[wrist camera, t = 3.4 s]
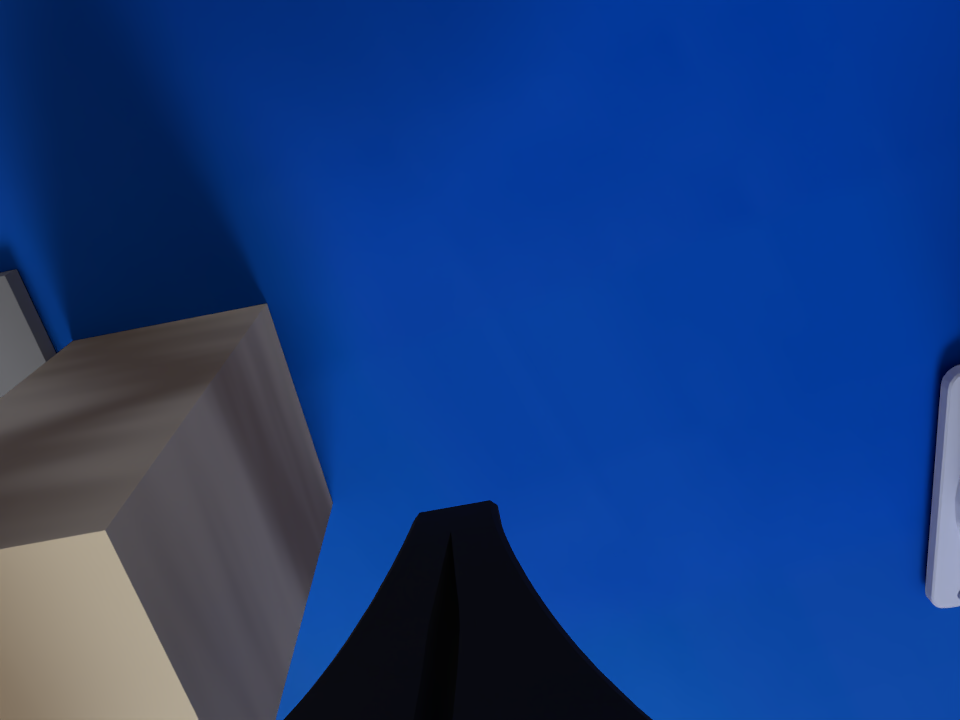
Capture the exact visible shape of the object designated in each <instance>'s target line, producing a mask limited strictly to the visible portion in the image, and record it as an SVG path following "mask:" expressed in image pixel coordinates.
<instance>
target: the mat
mask: <svg viewBox="0 0 960 720" xmlns="http://www.w3.org/2000/svg"><path fill="white" fill-rule="evenodd" d="M54 355H56V352H55V350H54V348H53V346H52V344H51V341H50V339H49V337H48V335H47V333H46V331H45V329H44V326H43V324H42V322H41V320H40V318H39V316H38V314H37V312H36V309H35V307H34V305H33V303H32V301H31V299H30V297H29V294H28V292H27V290H26V288H25V286H24V284H23V282H22V280H21V277H20V275H19V273H18V271H17V269H16V270H11V271H6V272H1V273H0V398H1V397H2V396H4V395H5V394H6V393H8V392H9V391H10V390H11V389H13V388H14V387H15V386H16V385H18V384H19V383H20V382H21V381H23V380H24V379H25V378H26V377H28V376H29V375H30V374H32V373H33V372H34V371H35V370H37V369H38V368H39V367H40V366H42V365H43V364H44V363H45V362H47V361H48V360H49V359H51V358H52V357H53V356H54Z"/></svg>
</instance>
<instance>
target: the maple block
mask: <svg viewBox="0 0 960 720" xmlns="http://www.w3.org/2000/svg"><path fill="white" fill-rule="evenodd" d="M332 504H333V502H332V499H331V496H330V493H329V490H328V487H327V484H326V481H325V478H324V475H323V472H322V469H321V466H320V463H319V460H318V457H317V454H316V451H315V448H314V445H313V442H312V439H311V436H310V433H309V429H308V426H307V423H306V420H305V417H304V414H303V411H302V408H301V405H300V402H299V399H298V396H297V393H296V390H295V387H294V384H293V381H292V378H291V375H290V372H289V369H288V366H287V363H286V360H285V357H284V354H283V351H282V348H281V345H280V342H279V339H278V336H277V333H276V329H275V326H274V323H273V320H272V317H271V314H270V311H269V308H268V305H267V303H266V304H261V305H256V306H251V307H246V308H240V309H235V310H230V311H225V312H220V313H215V314H210V315H204V316H199V317H194V318H189V319H184V320H179V321H173V322H168V323H163V324H158V325H153V326H148V327H143V328H137V329H132V330H127V331H122V332H117V333H112V334H106V335H101V336H96V337H91V338H86V339H81V340H76V341H72V342H71V343H69V344H68V345H67V346H66V347H64V348H63V349H62V350H61V351H59V352H58V353H57V354H56V355H54V356H53V357H52V358H51V359H49V360H48V361H47V362H45V363H44V364H43V365H42V366H40V367H39V368H38V369H37V370H35V371H34V372H33V373H32V374H30V375H29V376H28V377H26V378H25V379H24V380H23V381H21V382H20V383H19V384H18V385H16V386H15V387H14V388H13V389H11V390H10V391H9V392H8V393H6V394H5V395H4V396H2V397H1V398H0V720H275V719H276V715H277V712H278V708H279V704H280V700H281V696H282V693H283V689H284V685H285V681H286V678H287V674H288V670H289V666H290V663H291V659H292V655H293V651H294V647H295V644H296V640H297V636H298V632H299V629H300V625H301V621H302V617H303V614H304V610H305V606H306V602H307V598H308V595H309V591H310V587H311V583H312V580H313V576H314V572H315V568H316V565H317V561H318V557H319V553H320V550H321V546H322V542H323V538H324V534H325V531H326V527H327V523H328V519H329V516H330V512H331V508H332Z"/></svg>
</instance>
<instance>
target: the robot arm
mask: <svg viewBox="0 0 960 720" xmlns="http://www.w3.org/2000/svg"><path fill="white" fill-rule="evenodd" d="M925 593H926V596H927V597H928V598H929V600H930V601H931V602H932V603H933V604H934V605H935V606H936V607H939V608H951V607H957V606H960V365H957V366H954V367H953V368H952V369H950V370H949V371H947V373H946V374H945V375H944V377H943V379H942V382H941V389H940V402H939V415H938V429H937V442H936V455H935V468H934V481H933V494H932V508H931V521H930V534H929V547H928V560H927V573H926V586H925ZM284 720H652V719H651V718H650V717H649V716H648V715H646V714H645V713H644V712H643V711H642V710H640V709H639V708H638V707H637V706H636V705H635V704H634V703H633V702H632V701H631V700H630V699H629V698H628V697H627V696H626V695H624V694H623V693H622V692H621V691H620V690H619V689H618V688H617V687H616V686H615V685H614V684H613V683H612V682H611V681H610V680H609V679H608V678H607V677H606V676H605V675H604V674H603V673H602V672H601V671H600V670H599V669H598V668H597V667H596V666H595V665H594V664H593V663H592V662H591V661H590V659H589V658H588V657H587V656H586V655H585V654H584V653H583V652H582V651H581V650H580V648H579V647H578V646H577V645H576V644H575V642H574V641H573V640H572V639H571V638H570V636H569V635H568V634H567V633H566V632H565V630H564V629H563V628H562V627H561V625H560V624H559V623H558V621H557V620H556V619H555V617H554V616H553V615H552V613H551V612H550V611H549V609H548V608H547V606H546V605H545V603H544V602H543V601H542V599H541V598H540V596H539V595H538V593H537V592H536V590H535V589H534V587H533V586H532V584H531V582H530V581H529V579H528V578H527V576H526V574H525V572H524V571H523V569H522V567H521V565H520V564H519V562H518V560H517V558H516V557H515V555H514V553H513V551H512V549H511V547H510V545H509V542H508V540H507V538H506V536H505V533H504V531H503V528H502V524H501V519H500V515H499V510H498V505H496V504H495V503H493V502H492V501H490V500H489V501H484V502H478V503H472V504H467V505H461V506H455V507H450V508H444V509H438V510H433V511H427V512H421V513H419V514H418V516H417V517H416V518H415V520H414V522H413V524H412V526H411V529H410V531H409V533H408V535H407V537H406V539H405V541H404V543H403V545H402V547H401V549H400V551H399V553H398V555H397V557H396V559H395V561H394V563H393V565H392V567H391V569H390V570H389V572H388V574H387V576H386V577H385V579H384V581H383V583H382V585H381V586H380V588H379V590H378V592H377V593H376V595H375V597H374V599H373V600H372V602H371V604H370V605H369V607H368V609H367V610H366V612H365V613H364V615H363V616H362V618H361V619H360V621H359V623H358V624H357V626H356V627H355V629H354V630H353V632H352V633H351V635H350V637H349V638H348V640H347V641H346V643H345V644H344V645H343V647H342V648H341V650H340V651H339V652H338V654H337V655H336V657H335V658H334V659H333V661H332V662H331V663H330V665H329V666H328V667H327V669H326V670H325V671H324V673H323V674H322V675H321V676H320V678H319V679H318V680H317V682H316V683H315V684H314V685H313V687H312V688H311V689H310V690H309V692H308V693H307V694H306V695H305V696H304V697H303V699H302V700H301V701H300V702H299V703H298V704H297V706H296V707H295V708H294V709H293V710H292V711H291V712H290V713H289V714H288V715H287V717H286V718H285V719H284Z"/></svg>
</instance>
